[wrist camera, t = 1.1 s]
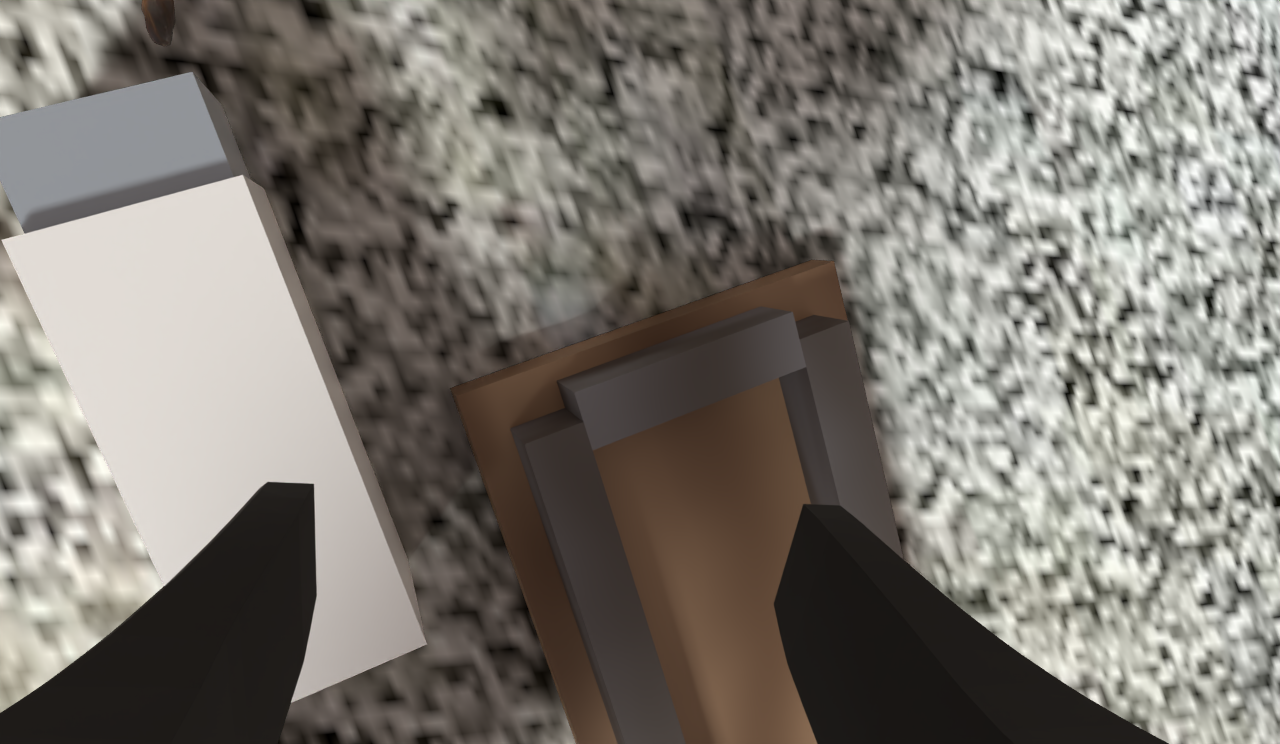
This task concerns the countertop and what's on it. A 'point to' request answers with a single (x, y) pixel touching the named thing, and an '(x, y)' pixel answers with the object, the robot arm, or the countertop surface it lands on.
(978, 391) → the countertop surface
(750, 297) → the cradle jig
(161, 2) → the lion figurine
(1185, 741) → the countertop surface
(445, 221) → the countertop surface
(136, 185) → the white pillar grey cap
